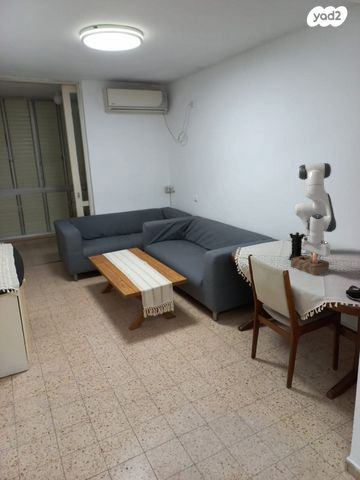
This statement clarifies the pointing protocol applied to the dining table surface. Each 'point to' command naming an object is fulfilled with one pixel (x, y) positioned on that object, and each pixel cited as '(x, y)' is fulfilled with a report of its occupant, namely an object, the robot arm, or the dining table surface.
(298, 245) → the chess piece
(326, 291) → the dining table surface
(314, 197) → the robot arm
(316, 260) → the pin
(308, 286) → the dining table surface
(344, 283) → the dining table surface
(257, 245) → the dining table surface
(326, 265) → the bore block
